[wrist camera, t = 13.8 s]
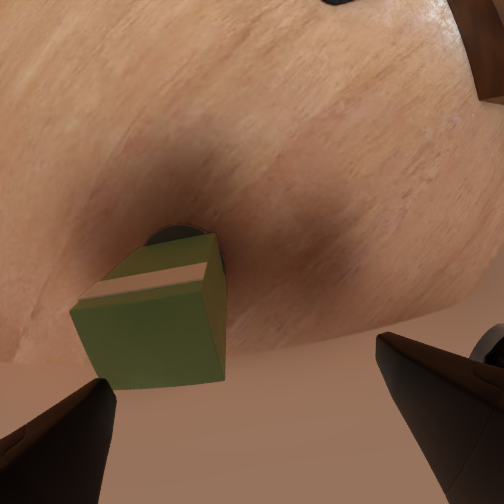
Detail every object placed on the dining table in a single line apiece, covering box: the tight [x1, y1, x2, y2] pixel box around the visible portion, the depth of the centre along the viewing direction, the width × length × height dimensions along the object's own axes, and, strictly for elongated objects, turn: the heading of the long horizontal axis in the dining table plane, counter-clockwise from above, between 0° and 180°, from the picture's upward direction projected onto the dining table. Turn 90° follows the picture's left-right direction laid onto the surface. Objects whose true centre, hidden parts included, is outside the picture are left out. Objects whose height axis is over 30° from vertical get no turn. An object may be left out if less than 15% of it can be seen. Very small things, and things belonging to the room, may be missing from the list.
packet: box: [69, 233, 227, 390], centre depth 15 cm, size 10×6×10 cm
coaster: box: [144, 223, 226, 275], centre depth 20 cm, size 6×6×1 cm
